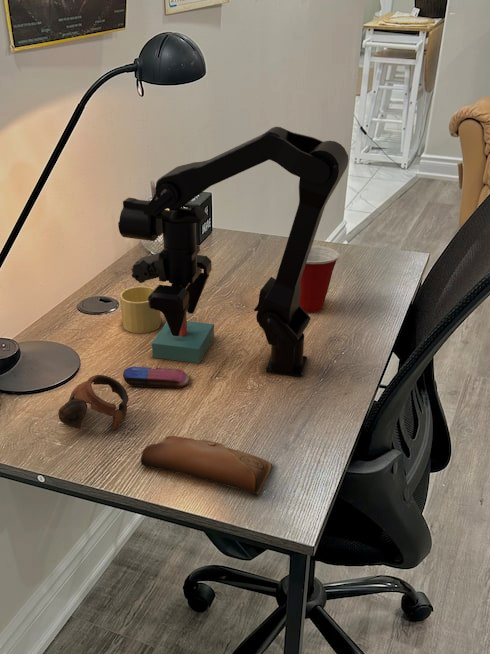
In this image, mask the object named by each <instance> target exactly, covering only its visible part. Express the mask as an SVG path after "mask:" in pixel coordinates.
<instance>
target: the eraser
mask: <svg viewBox="0 0 490 654" xmlns="http://www.w3.org/2000/svg"><path fill="white" fill-rule="evenodd" d="M122 376H123V379H124V383H126V384H127V385H129V386H131V387H132V386H133V387H151V388H167V389H179V388H184V387H186V386H187V385H188V383H189V381H190V379H189V375H188V374H187V373H186V372H185V371H184V370H182V369H178V368H164V367H163V368H161V367H160V368H159V367H155V368H153V367H148V366H146V367H145V366H129V367H127V368H125V369H124V371H123V375H122Z"/></svg>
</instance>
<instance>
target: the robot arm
mask: <svg viewBox="0 0 490 654" xmlns="http://www.w3.org/2000/svg"><path fill="white" fill-rule="evenodd" d="M267 161H271V162H274V163H276V164H277V165H278V166H280V167H281V168H282V169H284V170H285V171H286V172H288V173H290V174H291V175H294V176H296V177H298V178H299V181H298V206H297V209H296V212H295V216H294V219H293V222H292V225H291V228H290V232H289V235H288V237H287V238H288V239H287V242H286V243H285V244H286V245H285V247H284V251H283V255H282V257H281V261H280V264H279V268H278V270H277V274H276V277H275V278H274V277H273V276H270V277H269V279H268V280H267V281H266V282H265V284H264V285H263V286H262V288H261V289H260V290H259V294H258V302H257V305H256V306H255V308H254V309H253V311H254V312H256V317H255V318H256V319H255V320H256V322H257V323H258V325H259V327H260V328H261V329H262V330H263V332H264V335H265V338H266V341H267V344H268V345H270V347H271V348H270V357H269V360H268V362H267V365H266V367H265V373H271V374H278V375H285V376H293V377H294V376H295V377H302V376H303V373H304V370H305V367H306V364H307V361H308V357H307V356H306V355H304V349H305V334H304V331H305V330H306V329H307V328H308V326H309V324H310V321H311V319H312V317H311V316H310V315H309V314H308V312H305V311H304V310H303V308H302V307H301V306H300V305H299V303H300V295H301V285H300V281H301V277H302V274H303V271H304V268H305V265H306V262H307V259H308V256H309V253H310V250H311V247H312V246H313V244H314V241H315V238H316V234H317V232H318V229H319V225H320V223H321V220H322V216H323V213H324V211H325V207H326V205H327V204H328V201H329V200H330V198H331V196H332V195H333V193H334V191H335V190H336V188H337V186H338V184H339V183H340V180H341V179H342V177H343V176H344V173H345V171H346V170H347V168H348V166H349V154H348V152H347V150H346V148H345V147H344V146H343V145H342V144H341V143H339V142H337V141H334V140H325V141H323V140H321V139H319V138H316V137H312V136H310V135H306V134H301V133H297V132H293V131H290V130H288V129H286V128H284V127H281V126H274V127H271V128H269V129H268V130H267V131H265V132H264V133H263V134H260V135H258V136H255V137H254V138H252V139H250V140H247V141H245V142H243V143H241V144H239V145H237V146H234V147H232V148H231V149H229V150H226V151H224V152H222V153H220V154H218V155H215V156H214V157H212V158H210V159H207V160H202V161H194V162H190V163H186V164H182V165H178V166H176V167H174V168H173V169H171V170H170V171H168V172H167V173H165V174H163V175H162V176H161V177H159V178H158V179H157V180H156V183H155V189H154V191H155V192H154V193H155V194H154V195H153V197H152V198H151V200H143V199H137V198H135V197H127V198H126V199H124V200H123V201H122V209H121V211H120V215H119V221H118V222H117V224H118V232H119V234H120V236H121V237H122V238H126V239H133V240H142V241H149V242H155V241H157V239H158V238H159V237H161V236H162V245H163V248H162V250H161V251H160V252H157V253H153V254H150V255H146V256H143V257H141V258H139V259H137V261H135V263H134V264H133V265H132V268H131V272H132V273H131V278H133V279H135V281H137V282H138V283H139V284H143V283H145V282H146V281H151V280H155V279H157V278H158V281H159V282H162V283H166V282H168V283H169V284H171V285H167V284H158V285H157V286H156V287H155V289H154V291H153V292H152V293H151V294H150V295H149V297H148V302H149V307H150V308H151V309H155V310H159V311H160V312H161V314H162V315H163V317H164V318H165V320H166V322H167V323H168V326H169V328H170V331H171V333H172V335H173V336H178V335H179V333H180V330H181V327H182V324H183V321H184V319H185V316H186V317H187V314H194V313H195V311H196V308H197V306H198V304H199V301H200V298H201V296H202V294H203V292H204V289H205V286H206V284H207V282H208V279H209V277H210V273H211V271H212V269H213V268H212V260H211V258H209V256H208V255H202V254H199V253H200V252H201V246H200V245H199V244H197V224H198V225H199V224H201V223H202V222H203V221H205V219H207V218H208V217H209V215H208V213H207V212H206V211H205V210H204V209H202V208H201V207H200V206H199V204H195V205H194V206H192V207H191V208H188V207H184V206H185V205H187V204H188V203H190V202H191V201H193V200H194V199H195V198H196V197H198V196H200V195H201V194H202V193H203V192H205V191H206V190H208V189H209V188H211V187H212V186H214V185H216V184H219V183H221V182H223V181H225V180H227V179H230V178H232V177H234V176H236V175H238V174H239V175H240V174H241V173H243V172H245V171H247V170H249V169H252V168H255V167H256V166H259V165H260V164H263V163H265V162H267Z"/></svg>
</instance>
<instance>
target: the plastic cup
mask: <svg viewBox="0 0 490 654" xmlns="http://www.w3.org/2000/svg"><path fill="white" fill-rule="evenodd" d="M340 256H341V254H340V252H339V251H338V250H336V249H333V248H331V247H327V246H323V245H321V246H320V245H312V247H311V250H310V253H309V256H308V259H307V262H306V265H305V268H304V271H303V274H302V277H301V281H300V285H301V295H300V303H299V305H300V306H301V307H302V308H303V310H304V311H305V312H306V313H317V312H319V311H321V310H323V307H324V305H325V303H326V302H325V301H326V297H327V294H328V291H329V287H330V284H331V280H332V277H333V272H334V269H335V266H336V263H337V261H338V260H339V257H340Z"/></svg>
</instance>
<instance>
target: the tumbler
mask: <svg viewBox="0 0 490 654" xmlns="http://www.w3.org/2000/svg"><path fill="white" fill-rule="evenodd" d="M155 288H156V287H155ZM155 288H154V287H152V286H144V285H141V286H139V285H138V286H132V287H128V288H125V289H124V290H123V291H121V292H120V294H119V301H120V311H121V321H122V322H121V323H122V327H123V328H124V330H125V331H128V332H130V333H134V334H145V333H151V332H154V331H156V330H157V329H159V328H160V327H161V326H162V315H161V314H162V312H161V311H159V310H155V309H151V308H150V307H149V302H148V297H149V295H150V294H151V293H152V292H153V291H154V289H155Z"/></svg>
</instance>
